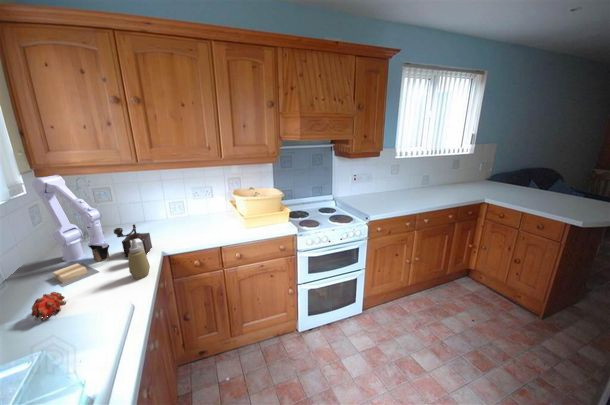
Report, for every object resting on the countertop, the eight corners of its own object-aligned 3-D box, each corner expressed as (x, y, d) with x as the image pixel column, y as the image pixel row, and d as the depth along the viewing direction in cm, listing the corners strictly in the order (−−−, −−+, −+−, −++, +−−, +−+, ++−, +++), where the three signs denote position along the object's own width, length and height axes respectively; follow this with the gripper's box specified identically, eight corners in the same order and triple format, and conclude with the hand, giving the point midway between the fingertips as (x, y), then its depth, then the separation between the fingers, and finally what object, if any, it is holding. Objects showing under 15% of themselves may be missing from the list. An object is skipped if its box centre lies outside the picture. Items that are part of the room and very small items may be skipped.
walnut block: (94, 260, 135) (91, 250, 133) (105, 256, 139) (102, 246, 137) (99, 263, 132) (96, 252, 131) (110, 258, 136) (107, 248, 135)
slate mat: (46, 277, 120) (45, 276, 120) (82, 264, 132) (82, 262, 131) (62, 288, 111) (62, 287, 111) (100, 273, 123) (99, 271, 123)
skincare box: (147, 262, 132) (143, 240, 128) (137, 266, 129) (132, 243, 125) (143, 258, 136) (139, 237, 132) (134, 262, 133) (129, 240, 129)
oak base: (54, 277, 118) (53, 272, 118) (78, 268, 126) (77, 263, 125) (63, 283, 114) (61, 277, 113) (87, 273, 122) (86, 267, 121)
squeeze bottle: (138, 271, 124) (130, 236, 119) (155, 271, 124) (148, 236, 119) (126, 280, 116) (118, 243, 111) (144, 280, 116) (136, 243, 111)
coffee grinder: (131, 249, 147) (125, 219, 142) (152, 247, 149) (147, 217, 144) (118, 262, 132) (110, 230, 127) (142, 260, 135) (135, 228, 130)
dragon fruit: (65, 305, 103) (47, 331, 92) (38, 299, 99) (17, 325, 88) (74, 290, 101) (57, 313, 91) (48, 283, 97) (27, 307, 87)
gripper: (79, 233, 131) (86, 257, 135) (93, 238, 125) (99, 264, 128) (95, 228, 137) (101, 252, 141) (109, 233, 130) (115, 258, 134)
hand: (101, 257), depth 135 cm, fingers closed on walnut block, 5 cm apart
